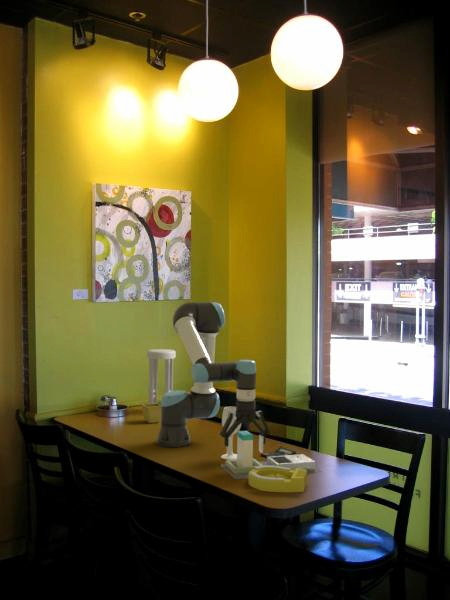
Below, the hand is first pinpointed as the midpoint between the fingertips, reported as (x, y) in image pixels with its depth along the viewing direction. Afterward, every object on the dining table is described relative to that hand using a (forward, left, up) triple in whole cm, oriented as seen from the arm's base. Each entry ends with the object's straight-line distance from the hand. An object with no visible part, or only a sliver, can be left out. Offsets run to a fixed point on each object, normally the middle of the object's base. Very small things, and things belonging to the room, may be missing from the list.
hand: (244, 453), depth 246 cm
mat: (+10, -2, -6) cm, 12 cm away
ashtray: (+5, -21, -6) cm, 22 cm away
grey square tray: (0, 0, -6) cm, 6 cm away
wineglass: (0, +17, -7) cm, 18 cm away
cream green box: (0, 0, -6) cm, 6 cm away
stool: (-10, +114, -7) cm, 115 cm away
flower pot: (-19, +91, -7) cm, 93 cm away
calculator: (+20, +13, -7) cm, 25 cm away
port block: (+18, -4, -6) cm, 19 cm away
